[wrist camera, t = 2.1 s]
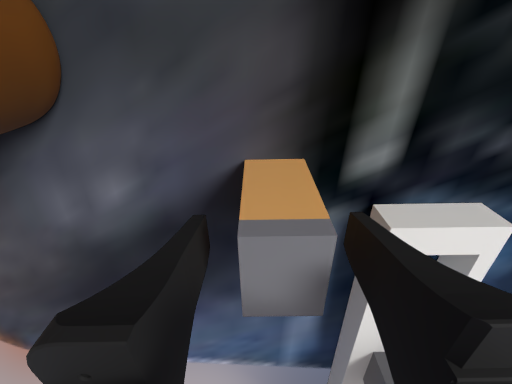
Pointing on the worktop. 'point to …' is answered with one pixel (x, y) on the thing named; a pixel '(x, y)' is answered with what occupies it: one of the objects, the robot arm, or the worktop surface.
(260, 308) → the plug
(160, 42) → the worktop surface
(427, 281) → the robot arm
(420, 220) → the pdu strip
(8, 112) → the mug
